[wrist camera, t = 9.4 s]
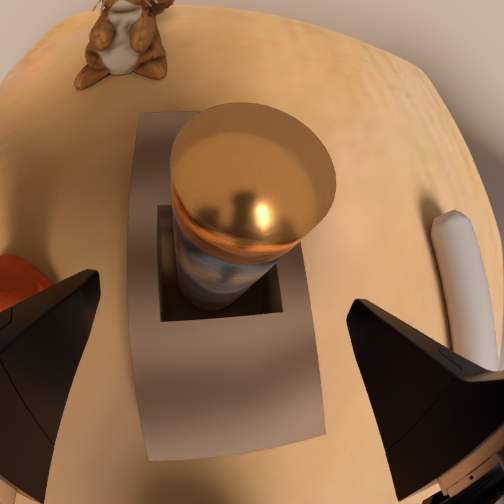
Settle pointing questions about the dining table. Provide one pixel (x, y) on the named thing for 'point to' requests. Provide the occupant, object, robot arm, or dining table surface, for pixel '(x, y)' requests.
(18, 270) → the toy drill
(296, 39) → the dining table surface
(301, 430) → the grey hollow block
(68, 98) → the dining table surface
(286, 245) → the metallic cylinder
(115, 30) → the stuffed squirrel
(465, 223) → the tube
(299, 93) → the dining table surface
